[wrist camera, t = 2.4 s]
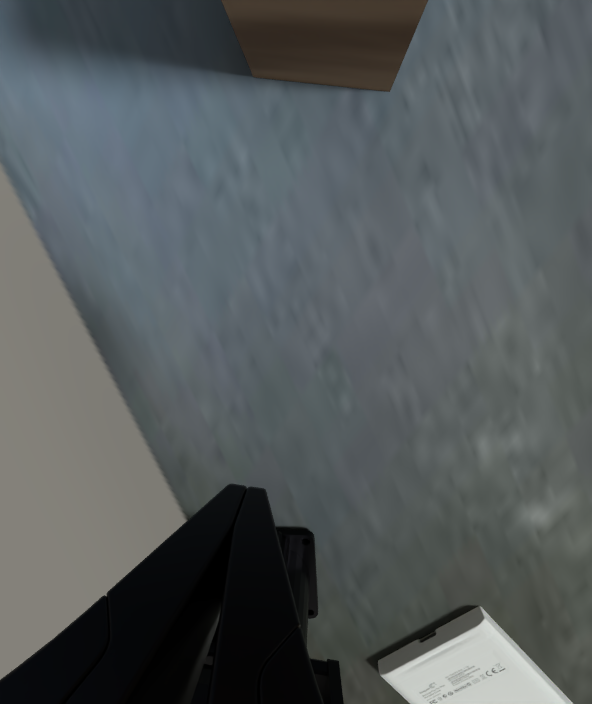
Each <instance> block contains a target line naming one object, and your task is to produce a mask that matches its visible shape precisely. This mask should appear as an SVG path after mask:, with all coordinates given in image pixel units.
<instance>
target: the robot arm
mask: <svg viewBox="0 0 592 704" xmlns="http://www.w3.org/2000/svg"><path fill="white" fill-rule="evenodd" d="M305 538H306V539H309V540H304V539H305ZM317 615H318V596H317V577H316V558H315V539H314V534H313V533H312V532H310V531H308V530H276V527H275V523H274V519H273V515H272V512H271V508H270V504H269V500H268V496H267V492H266V490H265V489H263V488H257V487H248V488H247V487H246V486H244V485H237V484H229V485H227V486H226V487H225V488H224V489H223V490H222V491H220V492H219V493H218V494H217V495H216V496H215V497H214V498H213V499H211V500H210V501H209V502H208V503H207V504H206V505H205V506H204V507H202V508H201V509H200V510H199V511H198V512H197V513H196V514H195V515H193V516H192V517H191V518H190V519H189V520H188V521H187V522H186V523H184V524H183V525H182V526H181V527H180V528H179V529H178V530H177V531H176V532H174V533H173V534H172V535H171V536H170V537H169V538H168V539H167V540H165V541H164V542H163V543H162V544H161V545H160V546H159V547H158V548H156V550H154V551H153V552H152V553H151V554H150V555H149V556H147V558H145V559H144V560H143V561H142V562H141V563H140V564H138V565H137V566H136V567H135V568H134V569H133V570H132V571H131V572H129V573H128V574H127V575H126V576H125V577H124V578H123V579H122V580H120V581H119V582H118V583H117V584H116V585H115V586H114V587H113V588H112V589H110V590H109V591H108V592H107V597H106V596H102V597H101V598H100V599H99V600H98V601H97V602H96V603H94V604H93V605H92V606H91V607H90V608H89V609H88V610H87V611H85V612H84V613H83V614H82V615H81V616H80V617H78V618H77V619H76V620H75V621H74V622H72V623H71V624H70V625H69V626H68V627H67V628H65V629H64V630H63V631H62V632H61V633H60V634H58V635H57V636H56V637H55V638H54V639H53V640H51V641H50V642H49V643H47V644H46V645H45V646H44V647H42V648H41V649H40V650H38V651H37V652H36V653H35V654H33V655H32V656H31V657H30V658H28V659H27V660H26V661H24V662H23V663H22V664H21V665H19V666H18V667H17V668H15V669H14V670H13V671H11V672H10V673H9V674H7V675H6V676H5V677H3V678H2V679H1V680H0V704H344V703H343V695H342V686H341V677H340V668H339V661H336V660H331V659H327V661H322V660H316V659H311V658H309V654H308V651H307V626H308V618H309V619H311V618H315V617H316V616H317Z"/></svg>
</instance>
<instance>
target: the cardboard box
mask: <svg viewBox="0 0 592 704" xmlns="http://www.w3.org/2000/svg"><path fill="white" fill-rule="evenodd" d="M221 1H222V3H223V6H224V8H225V10H226V13H227V15H228V18H229V20H230V22H231V25H232V27H233V30H234V32H235V34H236V37H237V39H238V41H239V44H240V46H241V49H242V51H243V53H244V56H245V58H246V61H247V63H248V65H249V68H250V70H251V72H252V75H253V77H256V78H265V79H275V80H284V81H294V82H303V83H312V84H322V85H331V86H341V87H350V88H360V89H369V90H378V91H388V92H390V90H391V87H392V85H393V83H394V80H395V78H396V75H397V73H398V71H399V68H400V66H401V64H402V61H403V59H404V56H405V54H406V52H407V49H408V47H409V44H410V42H411V40H412V37H413V35H414V33H415V30H416V28H417V25H418V23H419V21H420V18H421V16H422V14H423V11H424V9H425V6H426V4H427V2H428V0H221Z"/></svg>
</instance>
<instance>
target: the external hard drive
mask: <svg viewBox="0 0 592 704" xmlns="http://www.w3.org/2000/svg"><path fill="white" fill-rule="evenodd" d="M378 668H379V674H380V676H381V677H382V678H383V679H385V680H386V681H387V682H388V683H389V684H390V685H391V686H392V687H393V688H394V689H395V690H396V691H397V692H398V693H399V694H401V695H402V696H403V697H404V698H405V699H406V700H407V701H408V702H409V703H410V704H573V703H572V702H571V701H570V700H569V699H568V698H567V696H566V695H565V694H564V693H563V692H562V691H561V690H560V689H559V688H558V687H557V686H556V685H555V684H554V683H553V682H552V681H551V680H550V679H549V678H548V677H547V676H546V674H545V673H544V672H543V671H542V670H541V669H540V668H539V667H538V666H537V665H536V664H535V663H534V662H533V661H532V660H531V659H530V658H529V657H528V656H527V655H526V654H525V653H524V651H523V650H522V649H521V648H520V647H519V646H518V645H517V644H516V643H515V642H514V641H513V640H512V639H511V638H510V637H509V636H508V635H507V634H506V633H505V632H504V631H503V630H502V628H501V627H500V626H499V625H498V624H497V623H496V622H495V621H494V620H493V619H492V618H491V617H490V616H489V615H488V614H487V613H486V612H485V610H484V609H483V608H482V607H481V606H478V607H476V608H474V609H472V610H471V611H469V612H467V613H465V614H463V615H461V616H460V617H458V618H456V619H454V620H452V621H450V622H449V623H447V624H445V625H443V626H441V627H439V628H438V629H436V630H435V632H433V633H431V634H429V635H428V636H426V637H424V638H422V639H417V640H415V641H413V642H412V643H410V644H408V645H406V646H404V647H402V648H400V649H399V650H397V651H395V652H393V653H391V654H389V655H387V656H386V657H384V658H382V659H380V660H378Z"/></svg>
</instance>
